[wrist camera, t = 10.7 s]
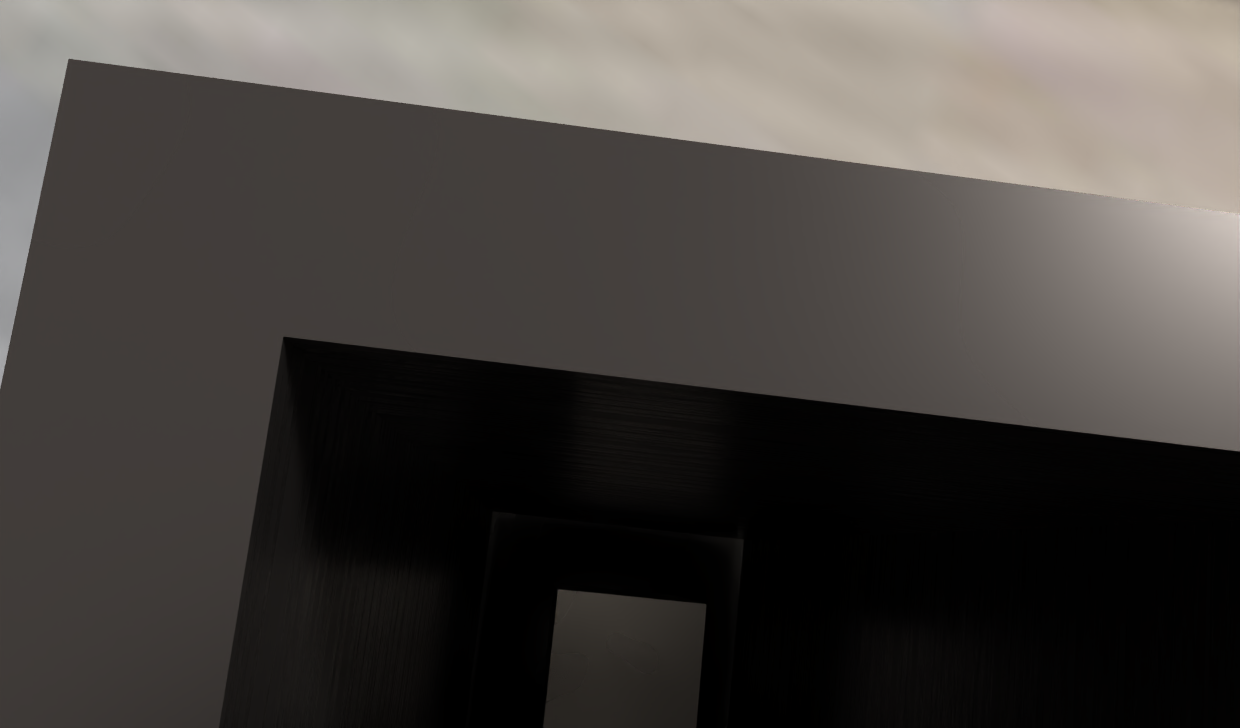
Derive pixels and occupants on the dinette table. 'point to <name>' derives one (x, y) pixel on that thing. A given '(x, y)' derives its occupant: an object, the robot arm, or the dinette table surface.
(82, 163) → the open-top metal box
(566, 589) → the ratchet
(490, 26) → the dinette table surface
